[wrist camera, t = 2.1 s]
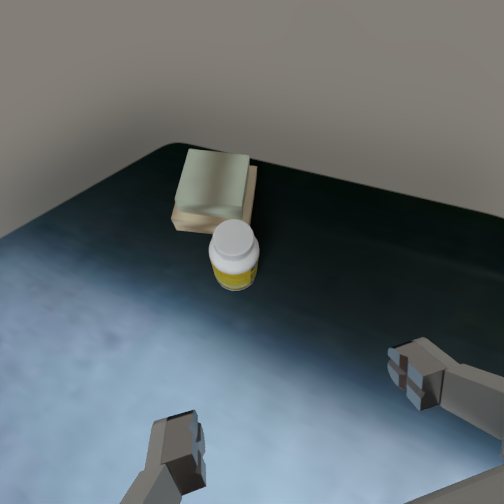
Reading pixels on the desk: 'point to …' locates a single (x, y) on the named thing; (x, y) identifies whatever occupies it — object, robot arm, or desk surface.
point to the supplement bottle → (234, 254)
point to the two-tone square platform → (214, 191)
